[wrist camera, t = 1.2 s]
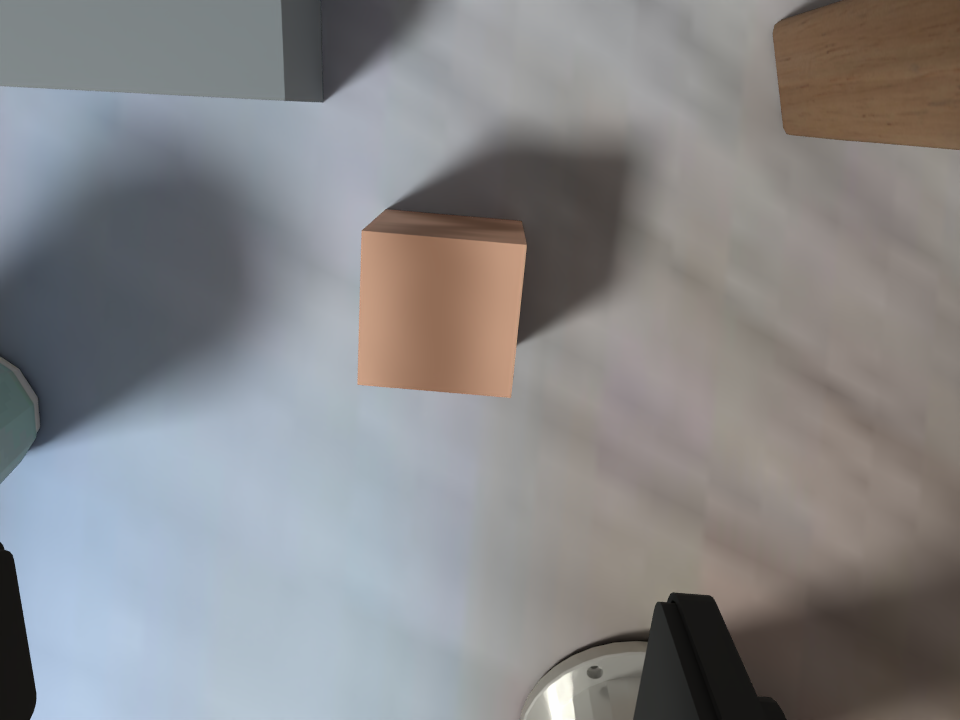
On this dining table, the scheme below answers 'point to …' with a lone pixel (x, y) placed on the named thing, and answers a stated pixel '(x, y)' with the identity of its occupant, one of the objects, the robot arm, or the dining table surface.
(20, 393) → the disposable coffee cup
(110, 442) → the dining table surface
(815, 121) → the wooden block
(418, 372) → the terracotta cube
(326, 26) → the dining table surface
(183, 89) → the slate box
